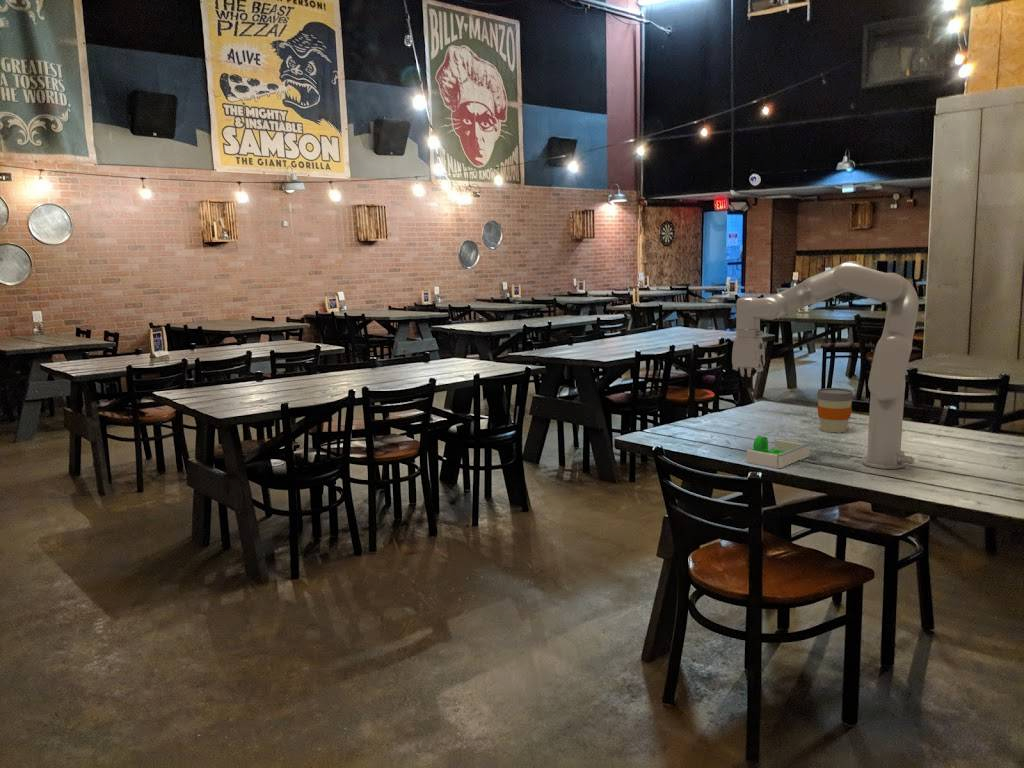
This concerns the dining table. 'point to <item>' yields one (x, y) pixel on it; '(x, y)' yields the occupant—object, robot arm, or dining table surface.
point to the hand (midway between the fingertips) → (747, 387)
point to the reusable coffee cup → (834, 408)
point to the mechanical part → (764, 446)
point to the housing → (778, 461)
